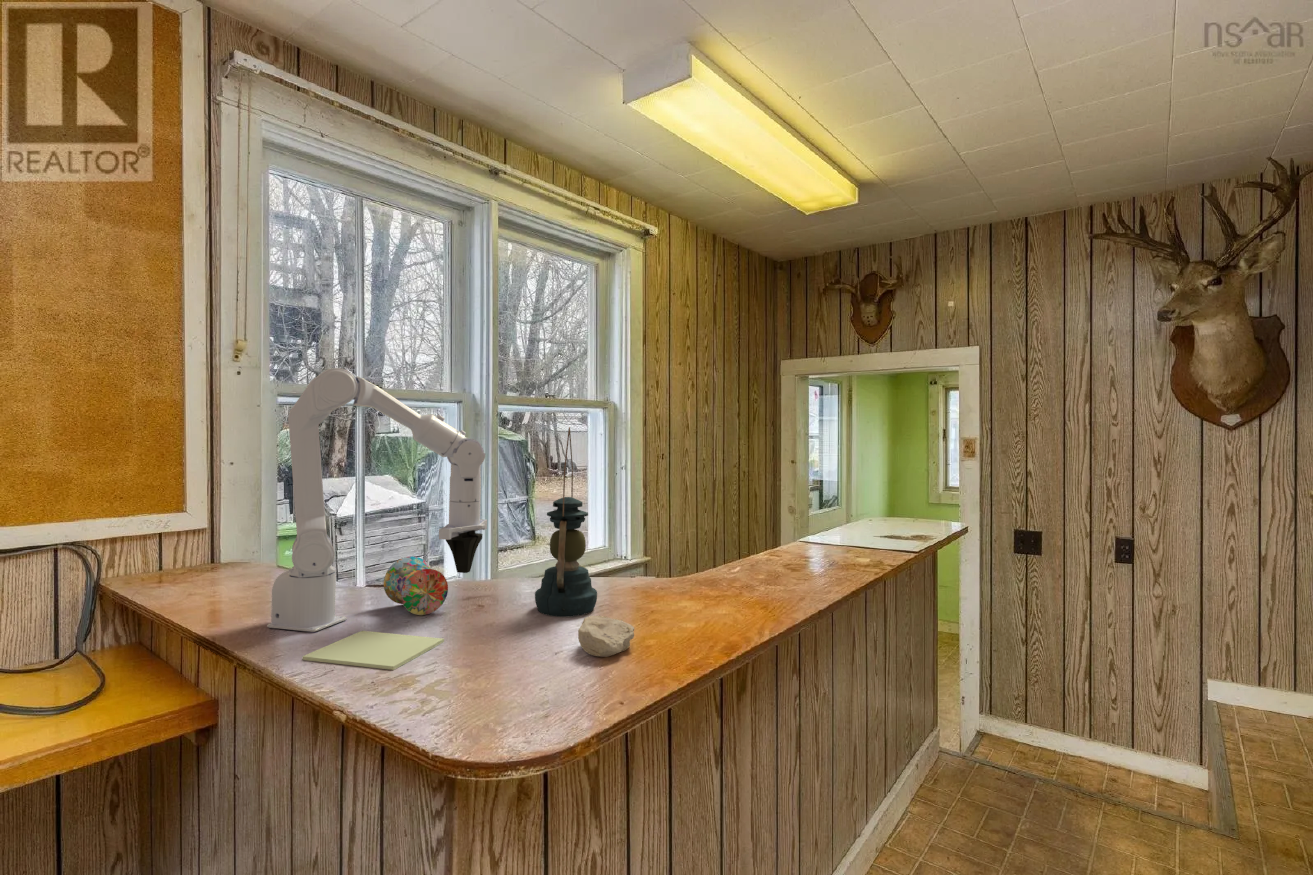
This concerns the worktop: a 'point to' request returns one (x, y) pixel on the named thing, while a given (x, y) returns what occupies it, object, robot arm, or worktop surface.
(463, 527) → the robot arm
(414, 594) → the mug
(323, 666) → the worktop surface
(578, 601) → the lantern
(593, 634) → the beige stone
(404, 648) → the mat
